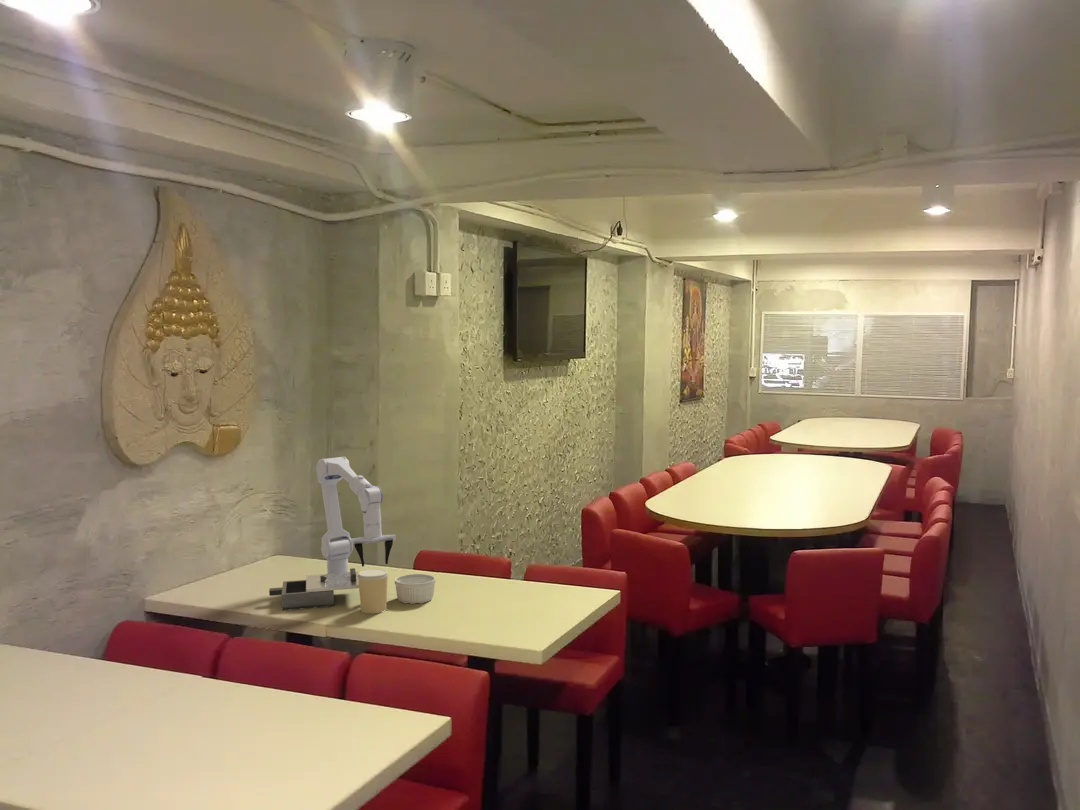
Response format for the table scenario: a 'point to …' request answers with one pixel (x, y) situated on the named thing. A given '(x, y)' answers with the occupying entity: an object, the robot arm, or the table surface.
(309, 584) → the lid
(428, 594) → the ramekin
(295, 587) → the gray rectangular box
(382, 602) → the coffee cup
